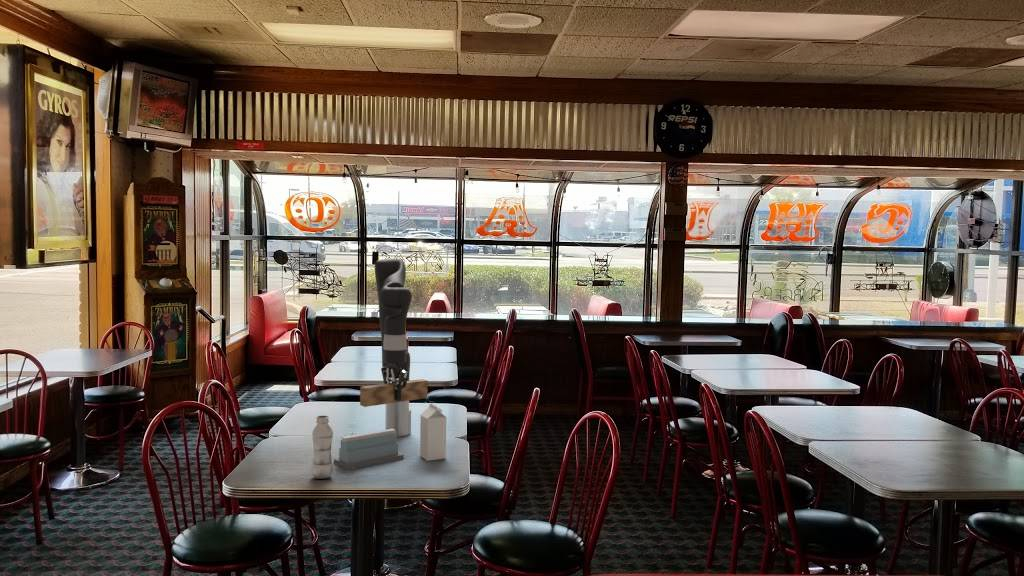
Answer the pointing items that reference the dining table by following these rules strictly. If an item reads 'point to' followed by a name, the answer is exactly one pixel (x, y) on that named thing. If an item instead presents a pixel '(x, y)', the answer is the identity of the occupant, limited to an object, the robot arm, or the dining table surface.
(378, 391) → the walnut plank
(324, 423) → the plastic bottle
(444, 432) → the milk carton
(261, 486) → the dining table surface
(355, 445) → the fulcrum ridge
